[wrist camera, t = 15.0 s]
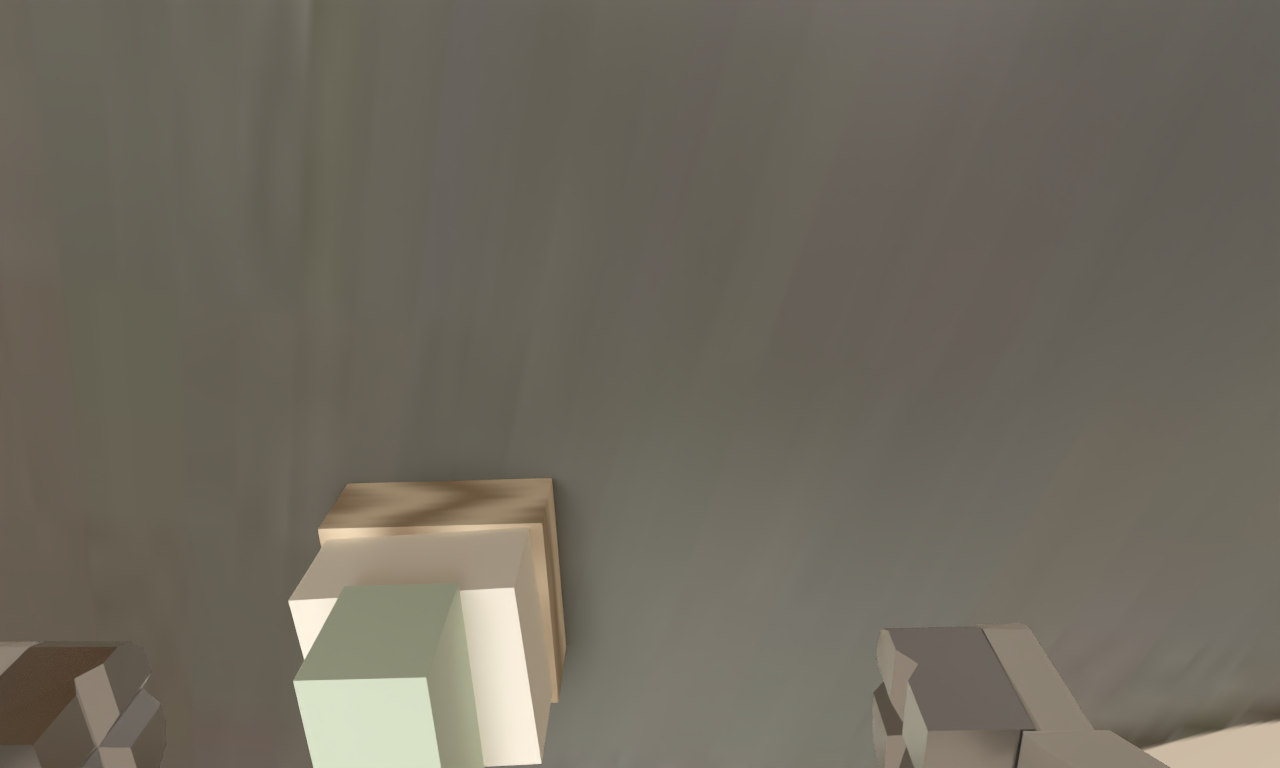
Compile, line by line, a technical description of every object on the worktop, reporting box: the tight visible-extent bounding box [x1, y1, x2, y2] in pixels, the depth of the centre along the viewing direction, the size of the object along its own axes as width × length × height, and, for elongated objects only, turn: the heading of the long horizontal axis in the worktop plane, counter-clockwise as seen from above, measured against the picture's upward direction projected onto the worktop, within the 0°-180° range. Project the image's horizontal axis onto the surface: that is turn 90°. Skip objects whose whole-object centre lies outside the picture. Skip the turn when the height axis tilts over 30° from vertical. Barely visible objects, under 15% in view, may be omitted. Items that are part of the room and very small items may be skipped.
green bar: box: [293, 583, 484, 768], centre depth 38 cm, size 5×11×6 cm, turn 2°
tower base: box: [318, 478, 566, 703], centre depth 48 cm, size 11×11×5 cm
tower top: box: [288, 527, 552, 767], centre depth 43 cm, size 10×10×5 cm
